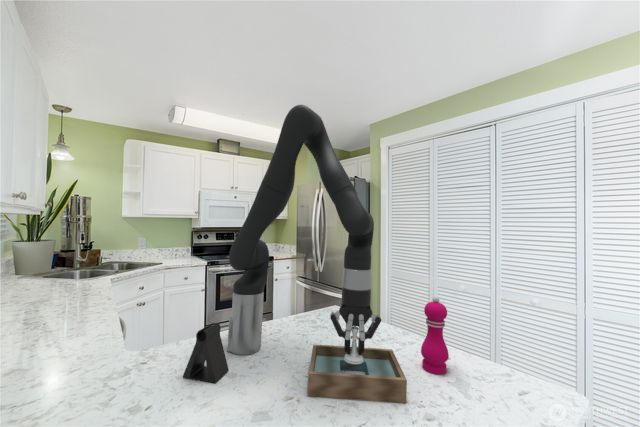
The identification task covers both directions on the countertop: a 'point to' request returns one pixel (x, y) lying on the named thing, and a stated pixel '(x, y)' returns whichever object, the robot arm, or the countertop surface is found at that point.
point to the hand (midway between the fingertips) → (354, 353)
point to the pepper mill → (435, 338)
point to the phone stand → (207, 356)
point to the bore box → (376, 385)
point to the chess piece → (354, 349)
